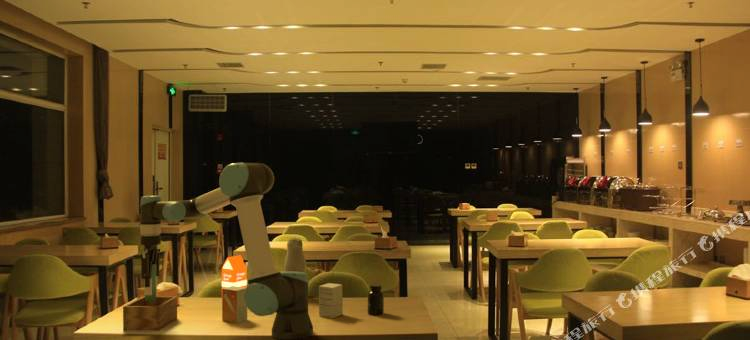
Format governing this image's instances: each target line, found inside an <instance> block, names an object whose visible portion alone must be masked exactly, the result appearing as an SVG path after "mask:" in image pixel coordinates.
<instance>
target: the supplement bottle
mask: <svg viewBox="0 0 750 340" xmlns="http://www.w3.org/2000/svg"><path fill="white" fill-rule="evenodd" d="M382 289H383V287H382V284H378V283H375V284H374V283H372V284H370V285H369V290H370V291H368V292H367V314H368V315H369V316H382V315H383V314H384V312H385V294H384V292H383V290H382Z"/></svg>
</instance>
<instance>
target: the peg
mask: <svg viewBox="0 0 750 340" xmlns="http://www.w3.org/2000/svg"><path fill="white" fill-rule="evenodd" d="M151 278H152V295H144V297H145V301H155V300H156V296H157V293H156V264H152V270H151Z"/></svg>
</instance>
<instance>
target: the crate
mask: <svg viewBox="0 0 750 340" xmlns="http://www.w3.org/2000/svg"><path fill="white" fill-rule="evenodd" d="M122 317H123V318H122V330H123V331H161V330H162V329H164V328H165V327H167V326H168V325H170V324H171V323H173V322H174V321H175V320H176V321H177V319H178V296H177V295H175V296H170V295H169V296H157V295H156V300H155V301H145V296H142V297H140V298H138V299H136V300H134V301H131V302H129V303H127V304H125V305H123V306H122Z"/></svg>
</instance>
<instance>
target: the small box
mask: <svg viewBox="0 0 750 340" xmlns="http://www.w3.org/2000/svg"><path fill="white" fill-rule="evenodd" d="M245 290H246V288H243V287H235V286H231V287H227V288H223V289H222V288H221V300H222V301H221V302H222V303H221V305H222V306H221V308H222V309H221V310H222V311H221V312H222V313H221V314H222V315H221V318H222V321H226V322H231V323H236V324H238V323H242V322H244V321H247V320H248V307H247V306H246V304H245V300H244V293H245V292H246V291H245Z"/></svg>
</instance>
